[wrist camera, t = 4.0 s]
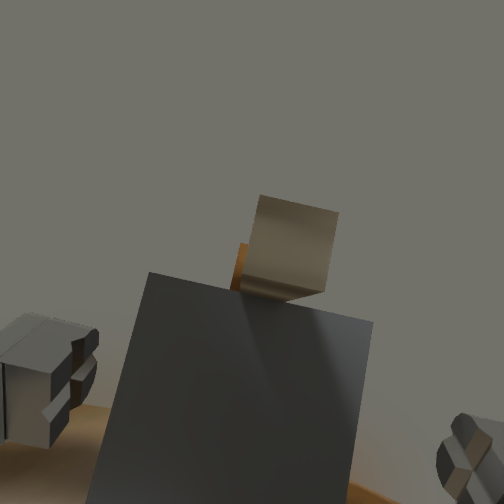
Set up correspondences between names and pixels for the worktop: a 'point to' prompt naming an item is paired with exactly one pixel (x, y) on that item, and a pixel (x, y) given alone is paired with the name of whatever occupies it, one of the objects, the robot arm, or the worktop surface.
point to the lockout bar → (286, 251)
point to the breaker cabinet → (232, 401)
